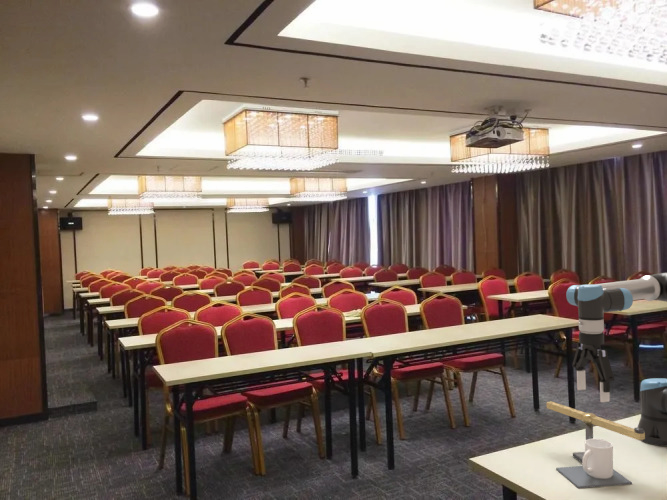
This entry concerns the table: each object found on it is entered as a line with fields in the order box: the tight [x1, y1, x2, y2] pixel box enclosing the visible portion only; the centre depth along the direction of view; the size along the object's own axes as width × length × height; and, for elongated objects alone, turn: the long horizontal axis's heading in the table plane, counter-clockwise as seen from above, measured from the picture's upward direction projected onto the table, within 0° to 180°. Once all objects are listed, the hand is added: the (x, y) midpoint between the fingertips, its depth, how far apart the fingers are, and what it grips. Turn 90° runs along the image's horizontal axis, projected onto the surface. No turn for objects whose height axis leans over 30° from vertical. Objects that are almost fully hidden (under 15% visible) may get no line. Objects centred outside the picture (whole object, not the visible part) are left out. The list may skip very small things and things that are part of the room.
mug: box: [581, 438, 614, 479], centre depth 181 cm, size 12×8×10 cm
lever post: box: [572, 423, 594, 464], centre depth 194 cm, size 8×8×14 cm
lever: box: [546, 401, 645, 441], centre depth 193 cm, size 38×4×3 cm, turn 25°
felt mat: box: [555, 465, 633, 489], centre depth 182 cm, size 18×14×1 cm
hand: (592, 395), depth 182 cm, fingers open, 13 cm apart
